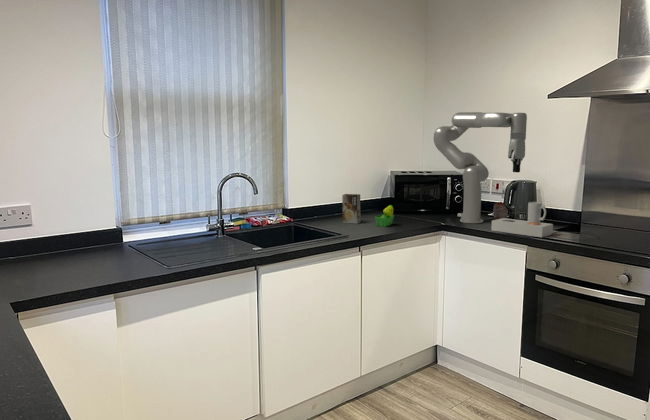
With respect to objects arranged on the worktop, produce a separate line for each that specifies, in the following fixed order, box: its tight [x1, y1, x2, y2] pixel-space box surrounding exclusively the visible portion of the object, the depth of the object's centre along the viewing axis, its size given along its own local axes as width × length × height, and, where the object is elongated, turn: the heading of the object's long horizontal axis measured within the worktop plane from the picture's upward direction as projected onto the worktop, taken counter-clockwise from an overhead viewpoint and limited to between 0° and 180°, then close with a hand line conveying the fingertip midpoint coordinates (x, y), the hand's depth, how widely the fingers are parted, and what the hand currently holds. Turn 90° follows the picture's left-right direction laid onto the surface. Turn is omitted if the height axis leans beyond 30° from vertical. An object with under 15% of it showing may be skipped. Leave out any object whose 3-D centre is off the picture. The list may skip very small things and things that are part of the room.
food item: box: [492, 201, 509, 220], centre depth 290 cm, size 14×8×10 cm, turn 170°
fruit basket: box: [374, 204, 395, 228], centre depth 269 cm, size 11×9×11 cm
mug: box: [527, 201, 547, 223], centre depth 267 cm, size 10×7×12 cm, turn 37°
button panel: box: [490, 217, 554, 238], centre depth 247 cm, size 26×12×5 cm, turn 43°
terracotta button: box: [529, 221, 541, 225], centre depth 242 cm, size 5×5×5 cm
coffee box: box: [341, 193, 361, 225], centre depth 278 cm, size 9×6×16 cm
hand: (516, 172), depth 259 cm, fingers closed
